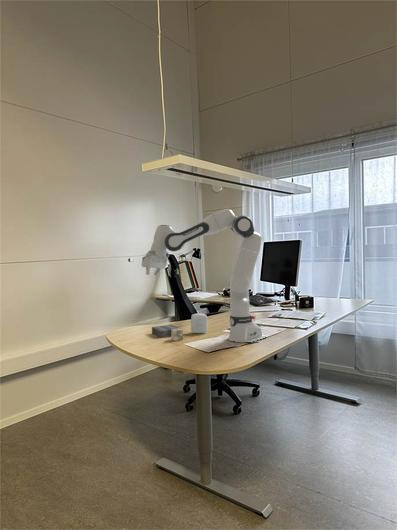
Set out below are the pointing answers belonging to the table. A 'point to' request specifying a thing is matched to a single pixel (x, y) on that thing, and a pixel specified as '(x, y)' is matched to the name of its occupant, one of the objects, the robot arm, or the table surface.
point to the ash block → (177, 334)
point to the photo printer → (199, 323)
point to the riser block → (163, 330)
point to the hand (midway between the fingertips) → (151, 274)
